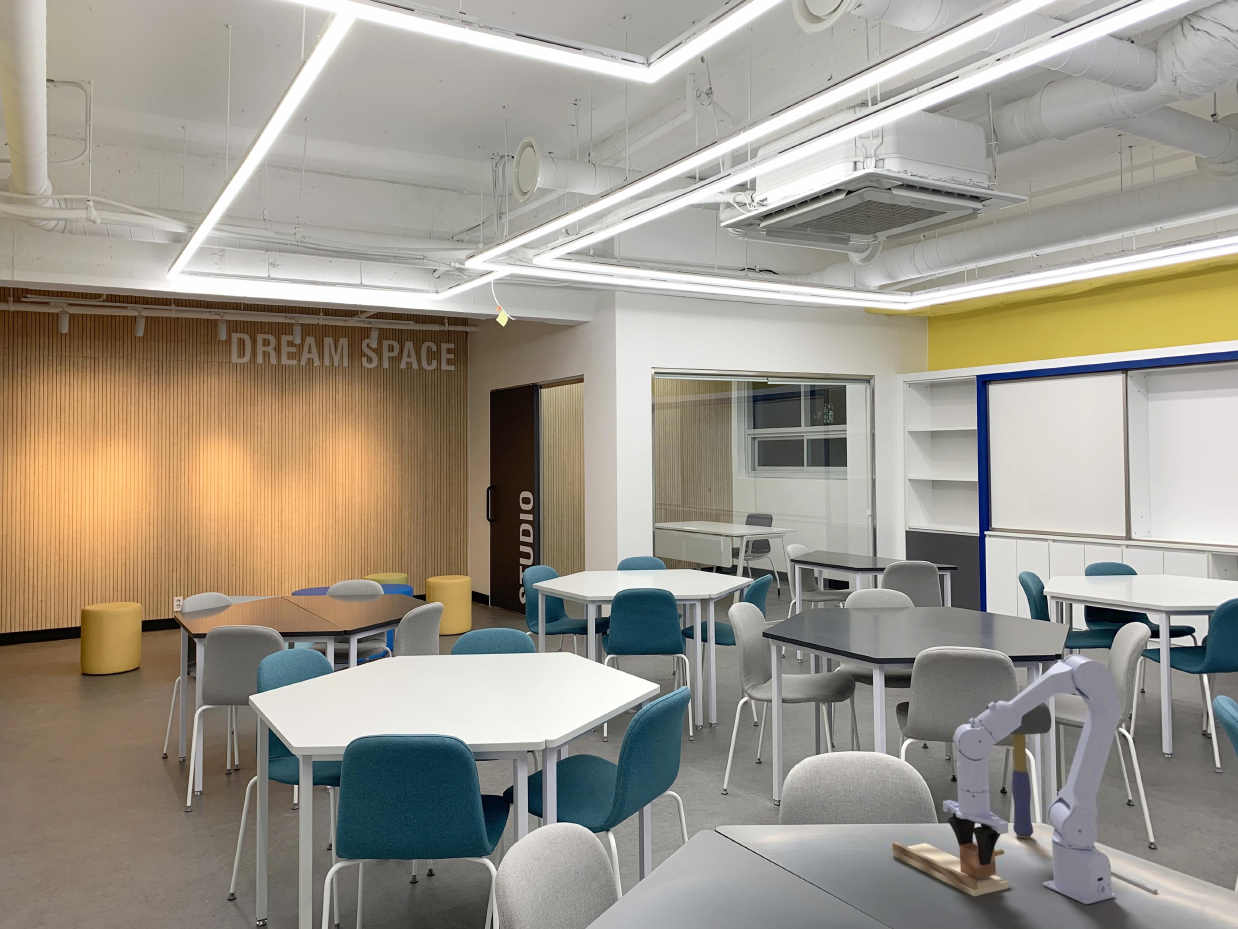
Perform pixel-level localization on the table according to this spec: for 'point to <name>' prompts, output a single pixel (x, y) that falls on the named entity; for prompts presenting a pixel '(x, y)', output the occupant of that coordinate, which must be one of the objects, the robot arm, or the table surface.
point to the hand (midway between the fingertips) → (976, 859)
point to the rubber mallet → (1025, 766)
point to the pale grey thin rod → (1133, 881)
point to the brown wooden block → (976, 861)
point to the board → (947, 868)
